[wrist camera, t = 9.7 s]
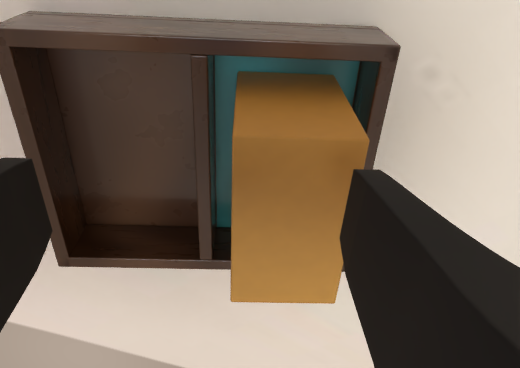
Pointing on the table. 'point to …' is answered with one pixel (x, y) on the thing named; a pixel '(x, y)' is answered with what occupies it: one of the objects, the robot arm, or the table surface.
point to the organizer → (160, 122)
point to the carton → (290, 185)
